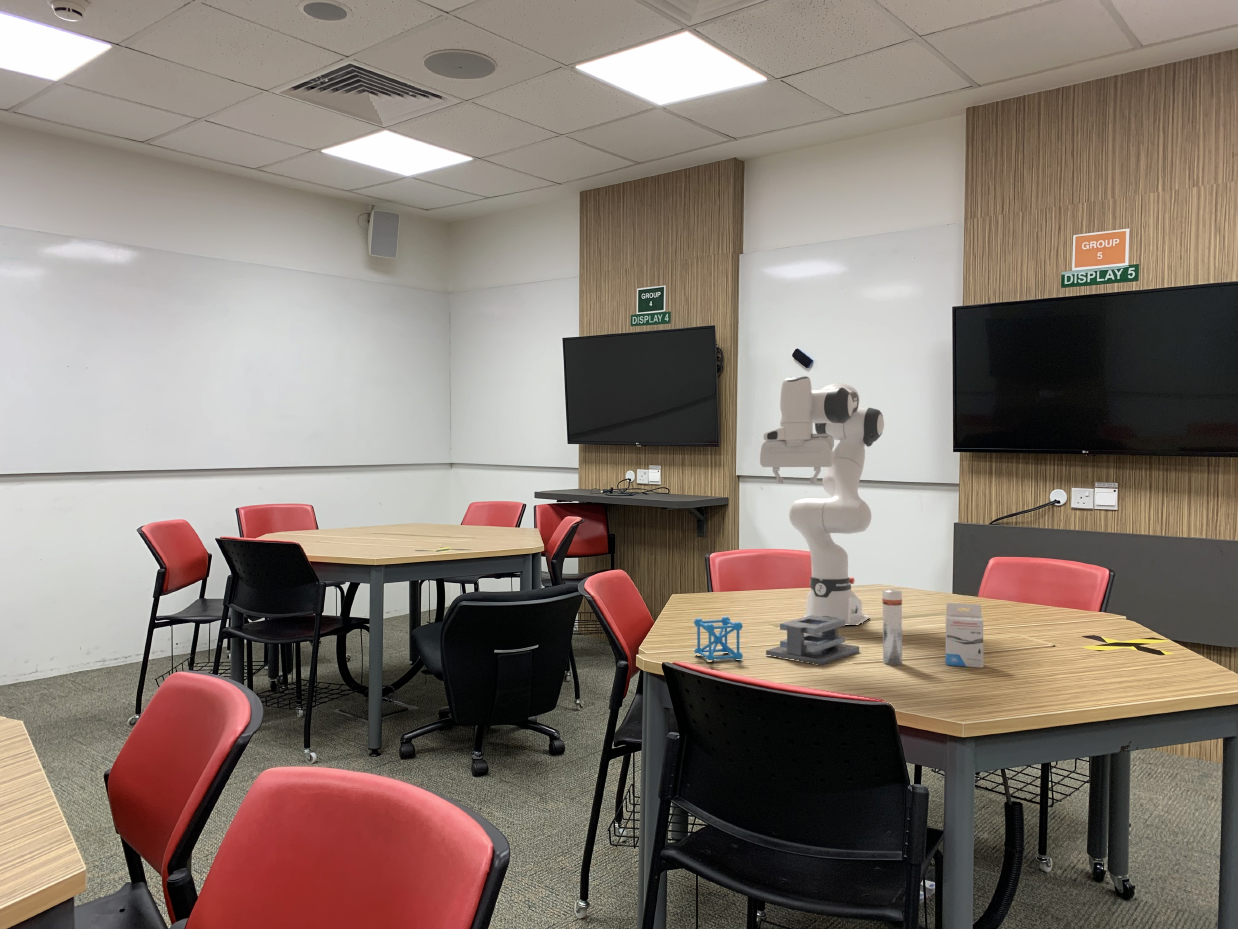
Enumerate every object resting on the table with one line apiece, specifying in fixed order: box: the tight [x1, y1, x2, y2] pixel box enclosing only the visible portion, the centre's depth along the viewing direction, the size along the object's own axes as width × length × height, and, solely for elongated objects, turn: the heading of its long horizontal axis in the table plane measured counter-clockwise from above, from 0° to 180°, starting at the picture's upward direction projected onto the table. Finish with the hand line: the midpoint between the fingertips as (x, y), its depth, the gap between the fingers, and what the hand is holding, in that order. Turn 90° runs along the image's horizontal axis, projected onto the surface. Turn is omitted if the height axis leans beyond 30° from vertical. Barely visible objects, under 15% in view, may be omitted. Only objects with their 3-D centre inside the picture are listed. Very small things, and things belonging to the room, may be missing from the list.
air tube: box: [881, 589, 903, 666], centre depth 214 cm, size 5×5×18 cm
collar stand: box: [765, 615, 860, 666], centre depth 224 cm, size 20×16×8 cm
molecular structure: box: [693, 616, 744, 661], centre depth 221 cm, size 10×10×10 cm
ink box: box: [945, 602, 984, 669], centre depth 212 cm, size 9×5×15 cm, turn 71°
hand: (796, 483), depth 238 cm, fingers open, 8 cm apart
